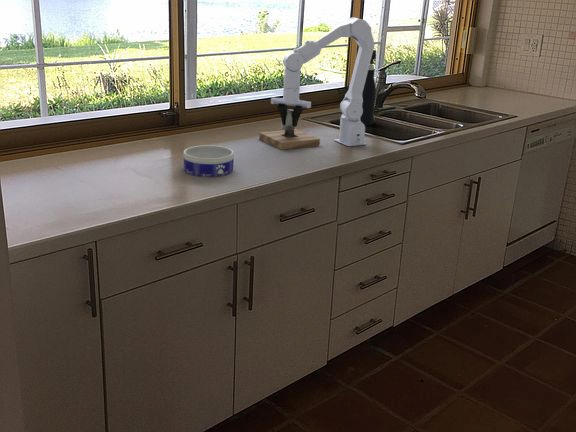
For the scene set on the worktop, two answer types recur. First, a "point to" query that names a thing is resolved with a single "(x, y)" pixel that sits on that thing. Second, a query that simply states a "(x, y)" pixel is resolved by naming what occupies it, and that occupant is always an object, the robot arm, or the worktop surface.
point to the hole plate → (289, 139)
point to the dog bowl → (208, 161)
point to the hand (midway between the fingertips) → (289, 125)
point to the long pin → (289, 122)
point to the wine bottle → (369, 94)
